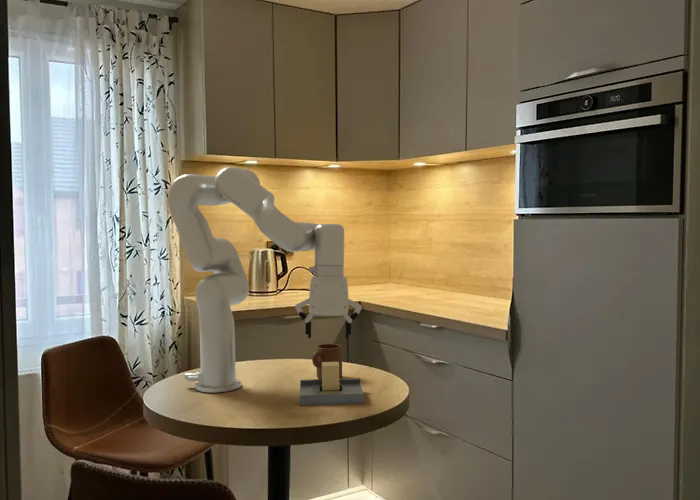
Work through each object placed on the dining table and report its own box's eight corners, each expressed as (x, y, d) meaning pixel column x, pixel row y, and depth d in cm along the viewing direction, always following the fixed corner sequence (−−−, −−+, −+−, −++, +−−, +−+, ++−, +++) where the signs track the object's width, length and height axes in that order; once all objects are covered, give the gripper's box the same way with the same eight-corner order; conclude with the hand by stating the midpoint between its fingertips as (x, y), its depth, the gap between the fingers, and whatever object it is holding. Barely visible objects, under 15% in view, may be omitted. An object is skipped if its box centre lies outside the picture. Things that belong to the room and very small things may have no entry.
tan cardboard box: (322, 400, 160) (322, 365, 160) (322, 396, 165) (321, 362, 164) (339, 400, 160) (339, 365, 160) (338, 395, 165) (338, 361, 165)
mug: (324, 385, 175) (324, 352, 175) (302, 382, 179) (302, 349, 179) (347, 376, 186) (346, 345, 185) (325, 373, 190) (325, 342, 189)
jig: (299, 405, 156) (299, 391, 156) (300, 392, 168) (300, 379, 168) (363, 403, 157) (363, 389, 157) (359, 391, 169) (359, 378, 169)
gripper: (295, 272, 157) (294, 340, 158) (363, 273, 158) (362, 340, 159) (295, 270, 165) (294, 334, 165) (361, 270, 166) (360, 334, 166)
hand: (328, 337), depth 162 cm, fingers open, 9 cm apart
